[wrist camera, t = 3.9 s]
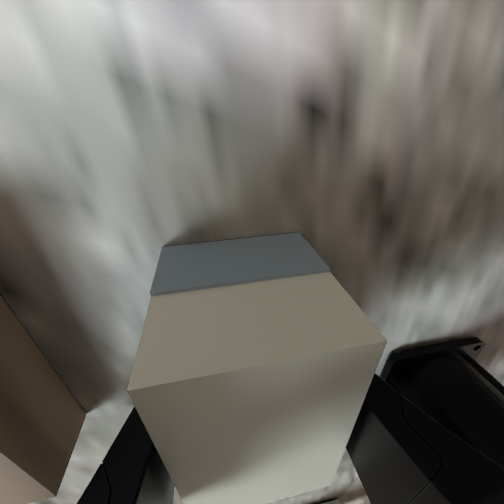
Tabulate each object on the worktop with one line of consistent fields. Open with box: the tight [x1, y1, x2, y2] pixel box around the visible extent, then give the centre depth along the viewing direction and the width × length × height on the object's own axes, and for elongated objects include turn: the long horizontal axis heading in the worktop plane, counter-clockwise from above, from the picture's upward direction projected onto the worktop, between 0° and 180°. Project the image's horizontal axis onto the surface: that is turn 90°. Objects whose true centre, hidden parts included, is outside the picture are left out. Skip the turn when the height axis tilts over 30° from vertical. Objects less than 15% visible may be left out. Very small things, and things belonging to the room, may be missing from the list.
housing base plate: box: [150, 232, 330, 296], centre depth 10 cm, size 5×8×2 cm, turn 1°
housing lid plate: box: [127, 272, 387, 504], centre depth 8 cm, size 5×8×2 cm, turn 1°
